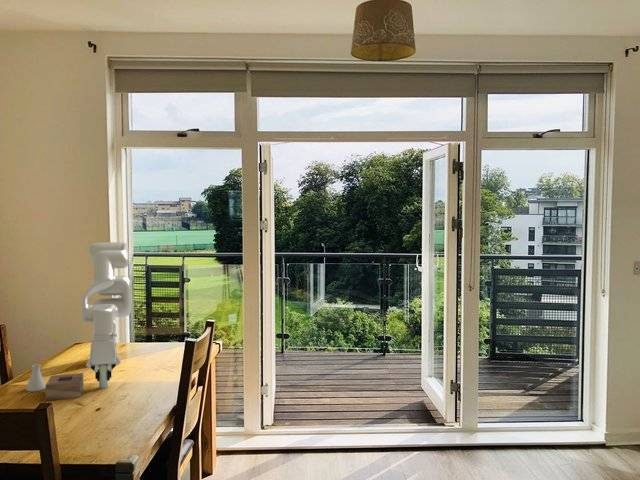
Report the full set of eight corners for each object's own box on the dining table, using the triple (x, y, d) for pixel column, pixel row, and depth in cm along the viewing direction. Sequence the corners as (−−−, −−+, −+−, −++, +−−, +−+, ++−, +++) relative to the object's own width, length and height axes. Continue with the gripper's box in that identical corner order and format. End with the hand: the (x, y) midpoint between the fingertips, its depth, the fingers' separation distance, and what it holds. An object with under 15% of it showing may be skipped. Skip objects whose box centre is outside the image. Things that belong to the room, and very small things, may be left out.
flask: (50, 387, 203) (50, 363, 203) (35, 393, 197) (34, 368, 196) (37, 385, 206) (37, 362, 205) (22, 390, 199) (21, 366, 199)
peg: (99, 386, 205) (99, 363, 205) (108, 385, 207) (108, 362, 206) (98, 389, 202) (98, 365, 202) (107, 388, 203) (107, 364, 203)
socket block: (51, 389, 200) (51, 375, 200) (83, 386, 205) (83, 372, 204) (45, 400, 189) (45, 385, 189) (79, 396, 193) (79, 382, 193)
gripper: (124, 333, 210) (124, 375, 211) (82, 336, 204) (82, 379, 205) (124, 337, 203) (124, 381, 204) (80, 340, 197) (80, 385, 198)
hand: (103, 379), depth 204 cm, fingers closed on peg, 3 cm apart
